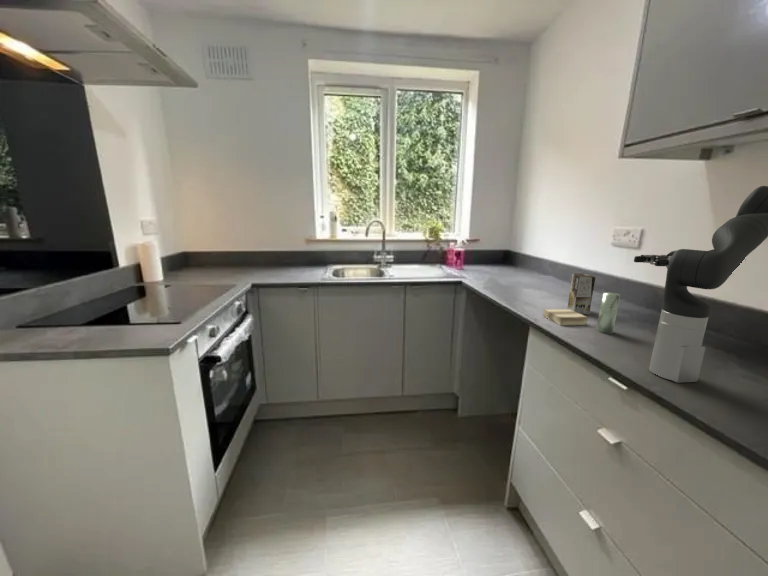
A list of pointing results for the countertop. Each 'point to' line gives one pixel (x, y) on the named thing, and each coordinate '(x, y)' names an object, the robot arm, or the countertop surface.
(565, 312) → the shelf stand
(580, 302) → the coffee box
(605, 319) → the pale green cylinder
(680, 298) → the robot arm
